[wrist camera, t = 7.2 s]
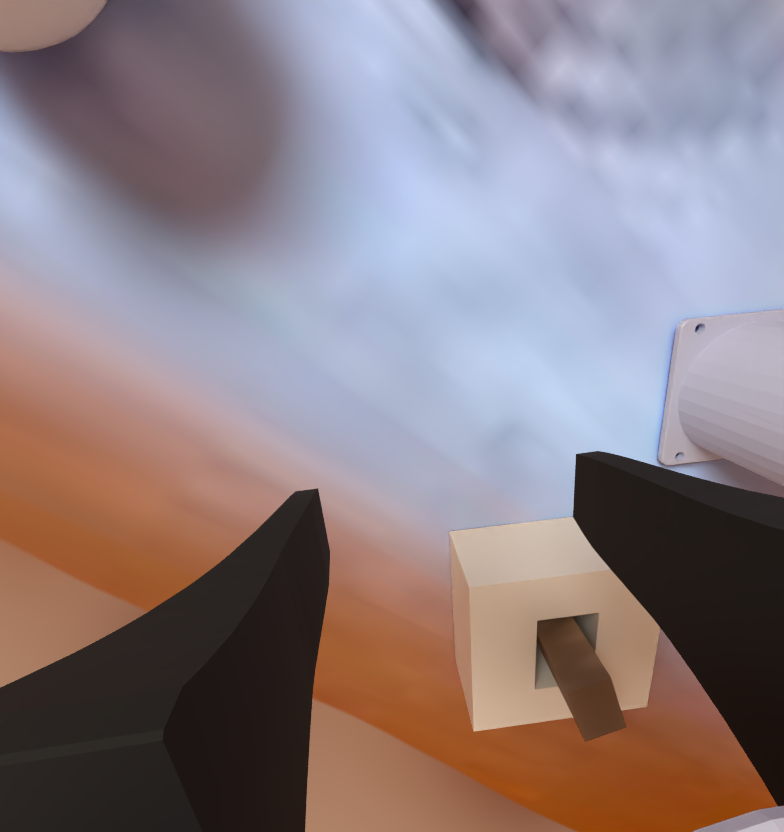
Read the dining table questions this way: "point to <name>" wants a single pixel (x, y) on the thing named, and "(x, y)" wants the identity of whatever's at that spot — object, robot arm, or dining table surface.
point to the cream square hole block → (539, 600)
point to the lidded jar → (43, 22)
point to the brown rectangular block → (580, 677)
